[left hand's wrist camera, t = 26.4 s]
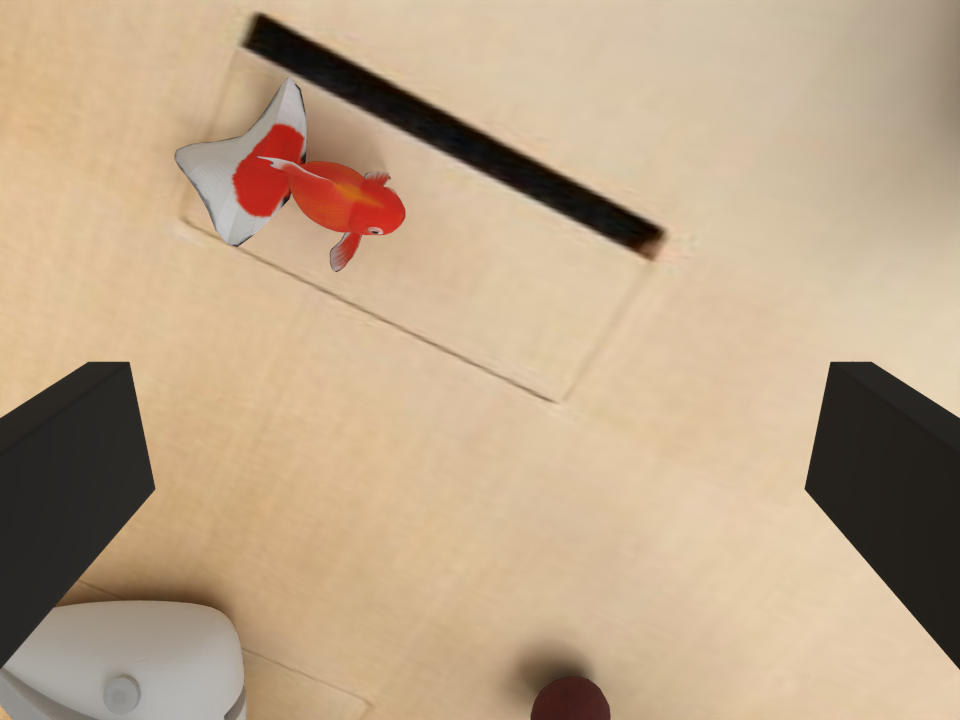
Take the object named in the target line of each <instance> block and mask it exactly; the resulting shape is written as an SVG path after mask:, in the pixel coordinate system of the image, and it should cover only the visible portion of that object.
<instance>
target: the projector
mask: <svg viewBox="0 0 960 720" xmlns="http://www.w3.org/2000/svg"><path fill="white" fill-rule="evenodd" d="M244 678H245V675H244V664H243V656H242V649H241V644H240V640H239V636H238V634H237V631H236V629H235V628H234V626H233V624H232V622H231V621H230V619H229V618H228V617H227V616H226V615H225V614H223V613H222V612H220V611H219V610H217V609H214V608H212V607H208V606H204V605H199V604H193V603H184V602H171V601H141V600H139V601H106V602H93V603H82V604H74V605H67V606H61V607H54V608H53V609H52V610H51V611H50V612H49V614H48V615H47V616H46V617H45V618H44V619H43V621H42V622H41V623H40V624H39V625H38V626H37V628H36V629H35V630H34V631H33V632H32V633H31V635H30V636H29V637H28V638H27V639H26V640H25V641H24V643H23V644H22V645H21V646H20V647H19V648H18V650H17V651H16V652H15V653H14V654H13V655H12V657H11V658H10V659H9V660H8V661H7V662H6V664H5V665H4V666H3V667H2V668H1V669H0V705H1V706H2V708H3V709H4V710H5V711H6V712H7V714H8V715H9V716H10V717H11V718H12V719H13V720H246V715H247V709H246V691H245V687H244Z"/></svg>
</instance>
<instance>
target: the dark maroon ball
mask: <svg viewBox="0 0 960 720" xmlns="http://www.w3.org/2000/svg"><path fill="white" fill-rule="evenodd" d="M531 720H611V718H610V708H609V704H608V702H607V700H606V698H605V696H604V695H603V693H602V691H601V690H600V688H599V687H598V686H597V685H596V684H594V683H593V682H591V681H590V680H588V679H585V678H581V677H565V678H562V679H559V680H556V681H554V682H552V683H551V684H549V685H548V686H546V687H545V688H544V689H543V690H542V691H541V692H540V693H539V695H538V696H537V698H536V700H535V702H534V705H533V709H532V713H531Z"/></svg>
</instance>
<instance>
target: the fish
mask: <svg viewBox="0 0 960 720" xmlns="http://www.w3.org/2000/svg"><path fill="white" fill-rule="evenodd" d="M175 161H176V162H177V164H178V166H179V168H180V169H181V170H182V171H183V172H184V174H185V175H186V176H187V177H188V179H189V180H190V182H191V183H192V184H193V186H194V187H195V189H196V190H197V192H198V193H199V195H200V197H201V199H202V200H203V202H204V204H205V206H206V208H207V210H208V211H209V214H210V217H211V219H212V222H213V225H214V227H215V230H216V231H217V232H218V234H219V235H220V236H221V237H222V238H223V239H224V241H225V242H226V243H227V244H230V245H233V246H236V247H238V246H239V245H241V244H242V243H243V242H245V241H246V240H247V239H249V238H250V237H251V236H253V235H254V234H255V233H256V232H257V231H259V230H260V229H261V228H262V227H263V226H264V225H265V224H266V223H267V222H268V221H269V220H270V219H271V218H272V217H273V216H274V215H275V214H276V213H277V212H278V211H279V210H280V209H281V207H282V206H283V205H284V204H285V203H286V202H287V201H288V200H289V198H290V195H291V196H293V197H294V199H295V201H296V202H297V204H298V206H299V207H300V209H301V210H302V211H303V212H304V213H305V215H307V216H308V217H309V218H310V219H312V220H313V221H314V222H316V223H318V224H319V225H321V226H323V227H325V228H328V229H330V230H334V231H337V232H346V233H345V234H344V236H343V238H342V239H341V241H340V242H339V243H338V244H337V245H336V246H334V247H333V248H332V249H331V251H330V264H331V267H332V269H333V270H334V271H335V272H337V271H340V270H341V269H342V268H344V267H345V266H346V264H347V263H348V261H349V260H350V259H351V258H352V257H353V256H354V254H355V252H356V250H357V248H358V246H359V243H360V240H361V237H362V235H386V234H389V233H392V232H393V231H394V230H396V229H397V228H398V227H399V226H400V225H401V224H402V222H403V221H404V219H405V208H404V206H403V204H402V202H401V200H400V198H399V197H398V195H397V193H396V192H395V191H394V190H393V189H391V188H389V187H383V186H384V184H385V183H386V182H387V180H388V179H390V178H391V177H390V176H389V173H384V172H370V173H367V174H366V175H365V177H363V176H361V175H360V174H359V173H357V172H356V171H354V170H353V169H351V168H349V167H346V166H343V165H341V164H337V163H332V162H324V161H314V162H309V163H305V161H306V116H305V109H304V104H303V99H302V94H301V89H300V88H299V87H298V86H297V85H296V84H295V83H294V82H293V81H292V80H291V79H290V78H289V77H288V78H287V79H286V80H285V81H284V82H283V84H282V85H281V86H280V88H279V89H278V91H277V93H276V94H275V96H274V97H273V99H272V101H271V102H270V104H269V105H268V107H267V108H266V110H265V111H264V112H263V114H262V115H261V117H260V118H259V119H258V121H257V122H256V123H255V124H254V125H253V126H252V127H251V128H250V129H249V130H248V131H247V132H246V133H245V134H244V135H243V136H241V137H236V138H232V139H227V140H222V141H218V142H208V143H197V144H190V145H188V146H185V147H182V148H180V149H177V151H176V153H175Z"/></svg>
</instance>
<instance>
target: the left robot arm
mask: <svg viewBox="0 0 960 720" xmlns="http://www.w3.org/2000/svg"><path fill="white" fill-rule="evenodd" d="M154 490H155V485H154V480H153V475H152V470H151V465H150V460H149V455H148V450H147V445H146V441H145V436H144V431H143V426H142V421H141V416H140V411H139V406H138V401H137V397H136V392H135V387H134V382H133V377H132V372H131V367H130V362H87V363H86V364H84V365H83V366H81V367H80V368H78V369H76V370H75V371H73V372H72V373H70V374H69V375H67V376H66V377H64V378H62V379H61V380H59V381H58V382H56V383H55V384H53V385H51V386H50V387H48V388H47V389H45V390H44V391H42V392H41V393H39V394H37V395H36V396H34V397H33V398H31V399H30V400H28V401H26V402H25V403H23V404H22V405H20V406H19V407H17V408H16V409H14V410H12V411H11V412H9V413H8V414H6V415H5V416H3V417H1V418H0V669H1V668H2V667H3V666H4V665H5V664H6V662H7V661H8V660H9V659H10V658H11V657H12V655H13V654H14V653H15V652H16V651H17V650H18V648H19V647H20V646H21V645H22V644H23V643H24V641H25V640H26V639H27V638H28V637H29V636H30V635H31V633H32V632H33V631H34V630H35V629H36V628H37V626H38V625H39V624H40V623H41V622H42V621H43V619H44V618H45V617H46V616H47V615H48V614H49V612H50V611H51V610H52V609H53V608H54V607H55V605H56V604H57V603H58V602H59V601H60V600H61V598H62V597H63V596H64V595H65V594H66V593H67V591H68V590H69V589H70V588H71V587H72V586H73V584H74V583H75V582H76V581H77V580H78V579H79V577H80V576H81V575H82V574H83V573H84V572H85V571H86V569H87V568H88V567H89V566H90V565H91V564H92V562H93V561H94V560H95V559H96V558H97V557H98V555H99V554H100V553H101V552H102V551H103V550H104V548H105V547H106V546H107V545H108V544H109V543H110V541H111V540H112V539H113V538H114V537H115V536H116V534H117V533H118V532H119V531H120V530H121V529H122V527H123V526H124V525H125V524H126V523H127V522H128V520H129V519H130V518H131V517H132V516H133V515H134V513H135V512H136V511H137V510H138V509H139V508H140V507H141V505H142V504H143V503H144V502H145V501H146V500H147V498H148V497H149V496H150V495H151V494H152V493H153V491H154ZM805 490H806V491H807V493H808V494H809V495H810V496H811V497H812V498H813V500H814V501H815V502H816V503H817V504H818V505H819V507H820V508H821V509H822V510H823V511H824V512H825V513H826V515H827V516H828V517H829V518H830V519H831V520H832V522H833V523H834V524H835V525H836V526H837V527H838V529H839V530H840V531H841V532H842V533H843V534H844V536H845V537H846V538H847V539H848V540H849V541H850V543H851V544H852V545H853V546H854V547H855V548H856V550H857V551H858V552H859V553H860V554H861V555H862V557H863V558H864V559H865V560H866V561H867V562H868V564H869V565H870V566H871V567H872V568H873V569H874V571H875V572H876V573H877V574H878V575H879V576H880V577H881V579H882V580H883V581H884V582H885V583H886V584H887V586H888V587H889V588H890V589H891V590H892V591H893V593H894V594H895V595H896V596H897V597H898V598H899V600H900V601H901V602H902V603H903V604H904V605H905V607H906V608H907V609H908V610H909V611H910V612H911V614H912V615H913V616H914V617H915V618H916V619H917V621H918V622H919V623H920V624H921V625H922V626H923V628H924V629H925V630H926V631H927V632H928V633H929V635H930V636H931V637H932V638H933V639H934V640H935V641H936V643H937V644H938V645H939V646H940V647H941V648H942V650H943V651H944V652H945V653H946V654H947V655H948V657H949V658H950V659H951V660H952V661H953V662H954V664H955V665H956V666H957V667H958V668H959V669H960V418H959V417H957V416H955V415H954V414H952V413H951V412H949V411H948V410H946V409H944V408H943V407H941V406H940V405H938V404H937V403H935V402H934V401H932V400H930V399H929V398H927V397H926V396H924V395H923V394H921V393H919V392H918V391H916V390H915V389H913V388H912V387H910V386H909V385H907V384H905V383H904V382H902V381H901V380H899V379H898V378H896V377H894V376H893V375H891V374H890V373H888V372H887V371H885V370H884V369H882V368H880V367H879V366H877V365H876V364H874V363H873V362H830V367H829V372H828V377H827V382H826V387H825V392H824V397H823V401H822V406H821V411H820V416H819V421H818V426H817V431H816V436H815V441H814V445H813V450H812V455H811V460H810V465H809V470H808V475H807V480H806V485H805Z"/></svg>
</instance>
